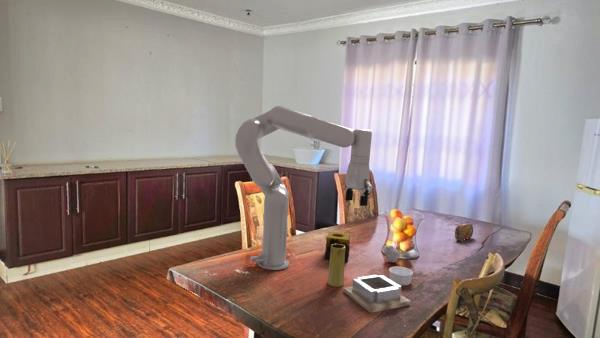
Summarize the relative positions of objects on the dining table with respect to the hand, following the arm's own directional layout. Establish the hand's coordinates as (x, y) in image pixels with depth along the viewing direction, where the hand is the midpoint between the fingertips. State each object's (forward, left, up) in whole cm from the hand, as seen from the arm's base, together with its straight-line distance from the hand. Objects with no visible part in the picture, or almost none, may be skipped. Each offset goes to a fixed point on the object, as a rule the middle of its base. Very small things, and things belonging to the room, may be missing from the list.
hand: (355, 202), depth 157 cm
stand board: (-7, -26, -27) cm, 38 cm away
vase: (-14, -11, -27) cm, 33 cm away
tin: (+82, +17, -27) cm, 88 cm away
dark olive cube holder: (+1, +13, -27) cm, 30 cm away
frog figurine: (+21, +1, -27) cm, 34 cm away
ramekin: (+11, -17, -27) cm, 34 cm away
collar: (-7, -26, -26) cm, 37 cm away
